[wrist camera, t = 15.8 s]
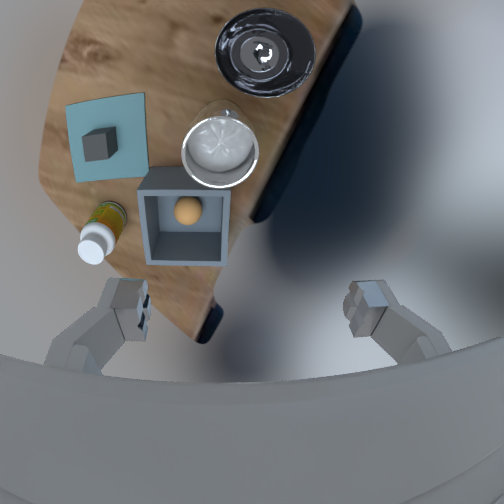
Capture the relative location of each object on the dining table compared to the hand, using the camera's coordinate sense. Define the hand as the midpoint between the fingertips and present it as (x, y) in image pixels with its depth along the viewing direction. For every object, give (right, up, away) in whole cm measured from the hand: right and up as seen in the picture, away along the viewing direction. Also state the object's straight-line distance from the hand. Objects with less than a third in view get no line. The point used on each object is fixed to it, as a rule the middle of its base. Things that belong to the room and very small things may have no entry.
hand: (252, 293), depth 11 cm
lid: (-20, +18, +24) cm, 36 cm away
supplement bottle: (-22, +7, +30) cm, 38 cm away
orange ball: (-9, +7, +28) cm, 31 cm away
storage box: (-9, +9, +31) cm, 33 cm away
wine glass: (0, +26, +19) cm, 32 cm away
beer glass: (-4, +19, +24) cm, 31 cm away
